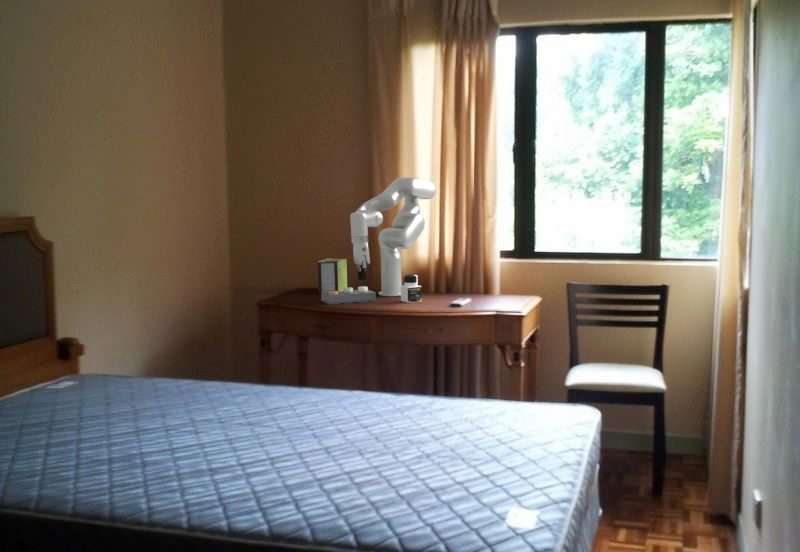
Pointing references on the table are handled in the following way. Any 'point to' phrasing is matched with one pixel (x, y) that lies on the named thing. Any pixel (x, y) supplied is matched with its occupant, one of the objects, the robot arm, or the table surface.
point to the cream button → (363, 289)
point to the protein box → (332, 275)
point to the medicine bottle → (411, 289)
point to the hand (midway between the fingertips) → (362, 279)
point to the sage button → (348, 290)
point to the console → (348, 297)
